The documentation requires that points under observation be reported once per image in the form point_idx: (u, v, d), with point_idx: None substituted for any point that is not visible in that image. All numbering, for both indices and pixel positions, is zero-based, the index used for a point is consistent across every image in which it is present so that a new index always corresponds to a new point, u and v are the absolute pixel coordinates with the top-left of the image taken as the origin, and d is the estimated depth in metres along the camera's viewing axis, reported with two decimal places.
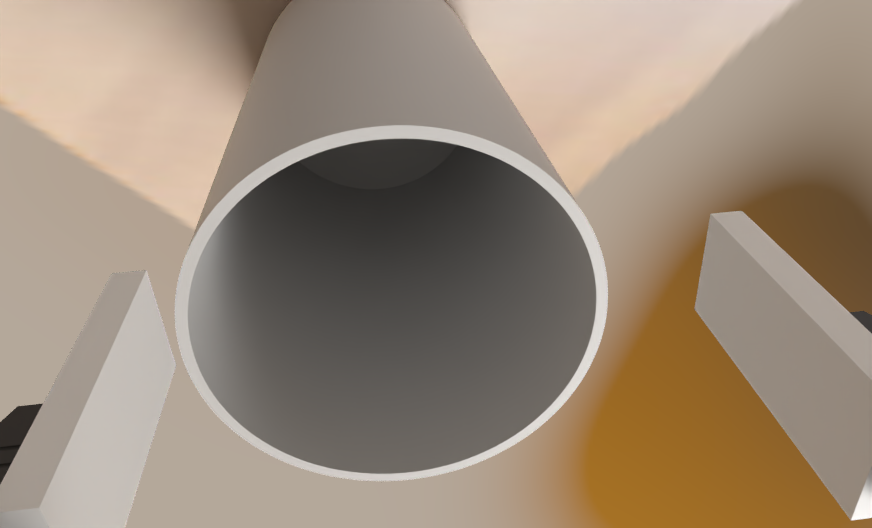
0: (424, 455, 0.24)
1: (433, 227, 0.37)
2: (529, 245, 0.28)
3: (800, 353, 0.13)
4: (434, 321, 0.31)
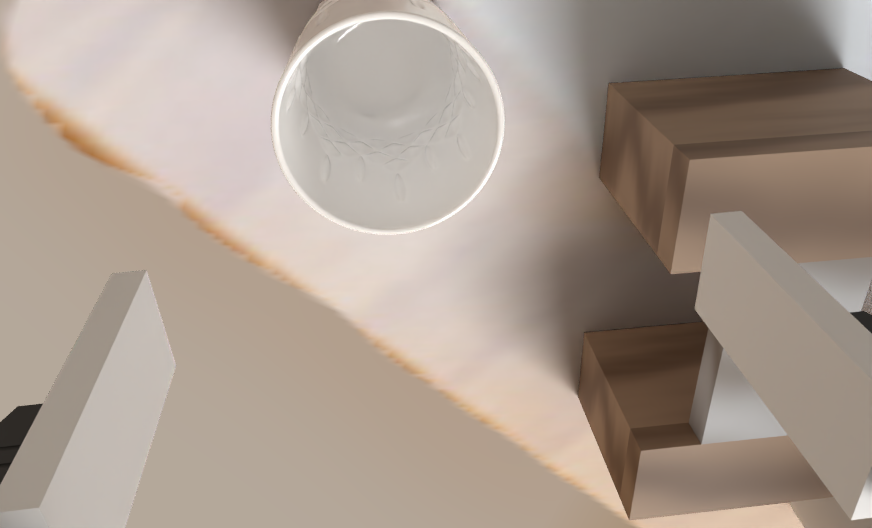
0: None
1: None
2: None
3: (800, 353, 0.13)
4: None
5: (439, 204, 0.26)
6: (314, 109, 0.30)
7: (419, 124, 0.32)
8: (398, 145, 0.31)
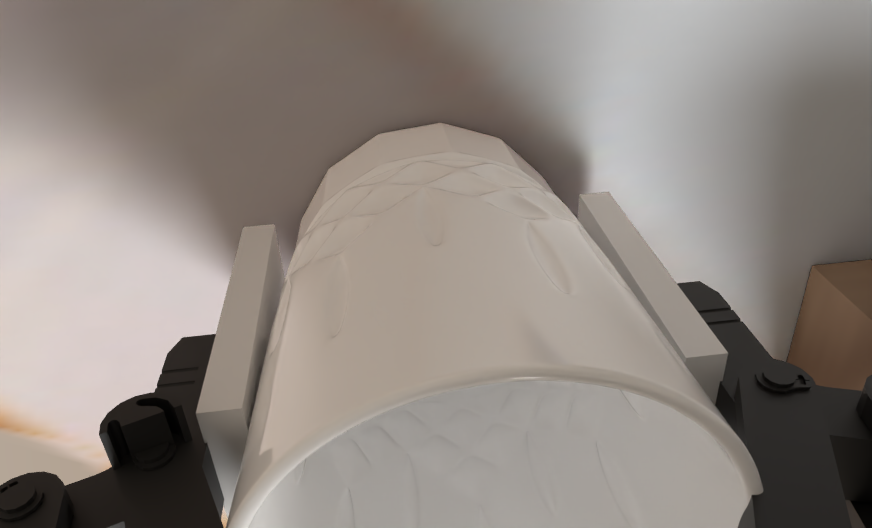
0: None
1: None
2: None
3: None
4: None
5: None
6: None
7: None
8: (472, 419, 0.17)
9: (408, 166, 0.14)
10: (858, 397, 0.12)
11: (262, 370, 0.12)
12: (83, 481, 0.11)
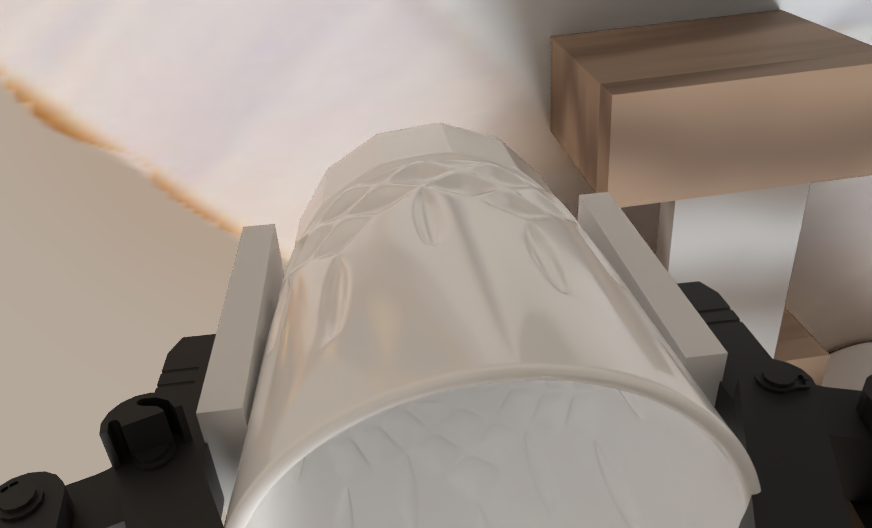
0: None
1: None
2: None
3: None
4: None
5: None
6: None
7: None
8: (471, 419, 0.17)
9: (407, 166, 0.14)
10: (858, 397, 0.12)
11: (260, 370, 0.12)
12: (83, 481, 0.11)
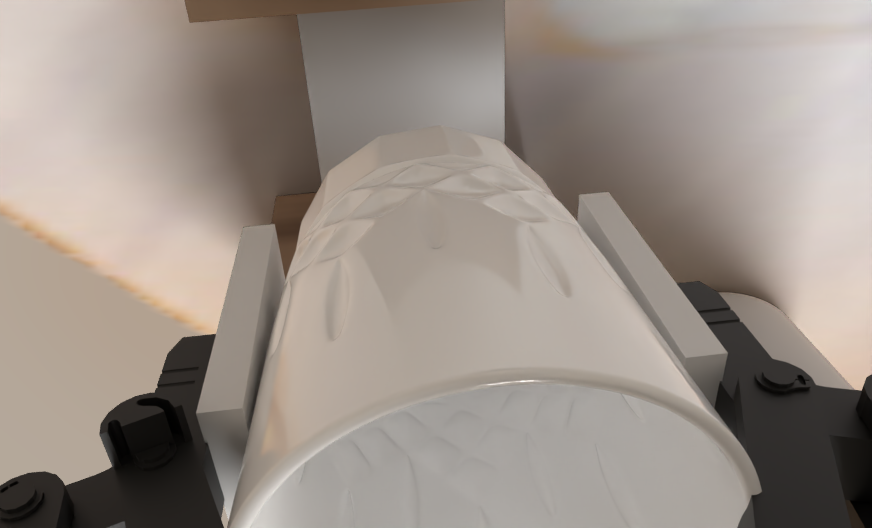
0: None
1: None
2: None
3: None
4: None
5: None
6: None
7: None
8: (472, 421, 0.17)
9: (408, 169, 0.14)
10: (858, 397, 0.12)
11: (262, 372, 0.12)
12: (83, 481, 0.11)
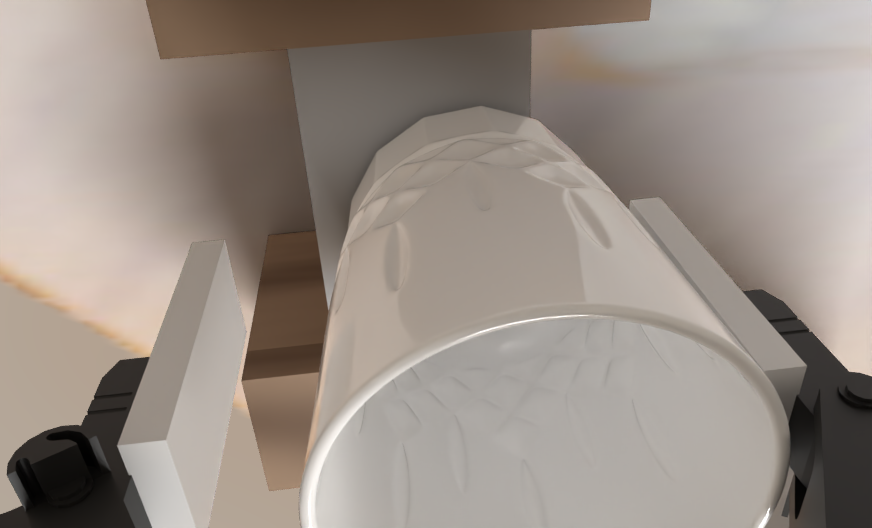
0: None
1: None
2: None
3: None
4: None
5: None
6: None
7: (545, 340, 0.19)
8: (514, 384, 0.19)
9: (454, 144, 0.16)
10: None
11: (327, 328, 0.13)
12: None
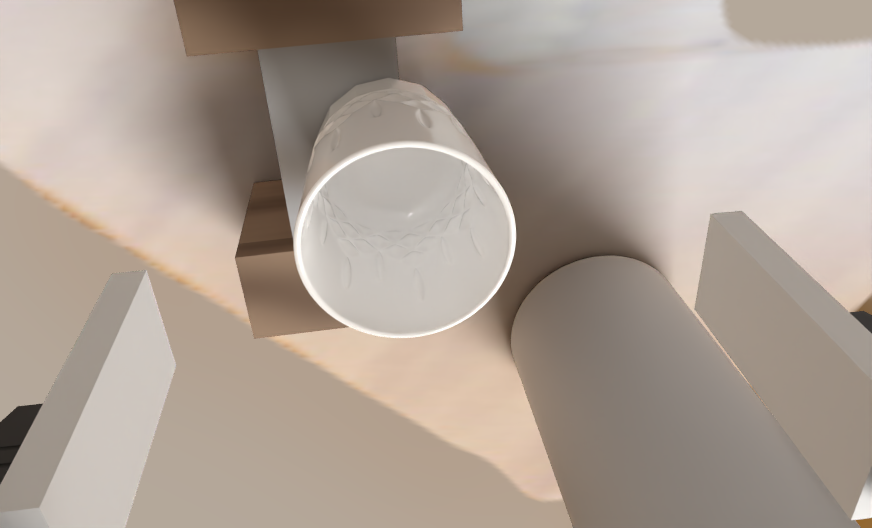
0: None
1: None
2: None
3: (800, 353, 0.13)
4: None
5: (458, 304, 0.27)
6: (331, 211, 0.31)
7: (433, 213, 0.33)
8: (414, 236, 0.32)
9: (369, 94, 0.29)
10: None
11: (304, 182, 0.27)
12: None
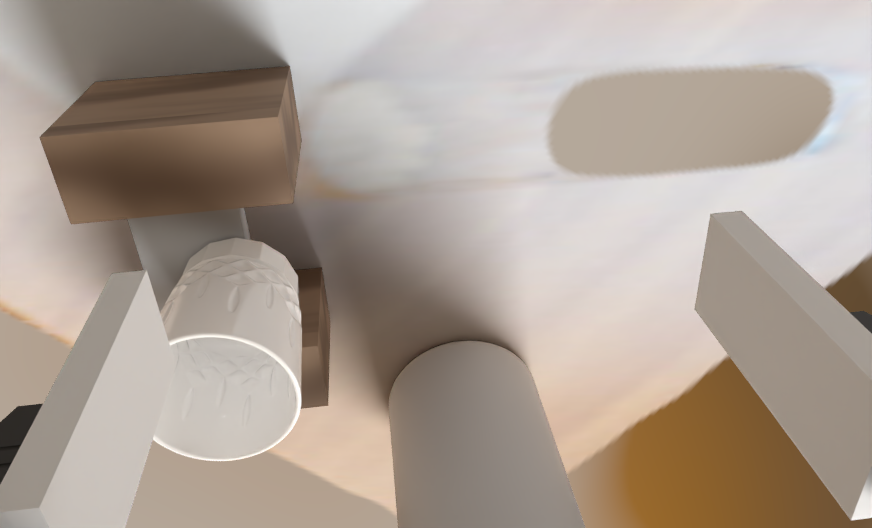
0: None
1: None
2: None
3: (800, 353, 0.13)
4: None
5: (267, 434, 0.36)
6: (185, 346, 0.39)
7: None
8: (255, 363, 0.41)
9: (209, 262, 0.37)
10: None
11: None
12: None
